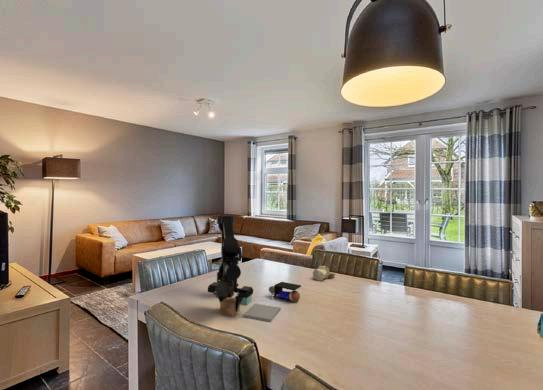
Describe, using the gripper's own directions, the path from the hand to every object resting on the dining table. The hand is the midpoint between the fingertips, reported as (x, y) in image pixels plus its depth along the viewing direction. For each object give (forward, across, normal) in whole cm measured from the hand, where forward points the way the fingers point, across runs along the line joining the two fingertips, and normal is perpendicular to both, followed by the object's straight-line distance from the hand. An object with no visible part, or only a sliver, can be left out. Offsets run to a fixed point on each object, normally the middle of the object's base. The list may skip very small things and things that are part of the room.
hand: (230, 309), depth 119 cm
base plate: (+1, +13, +4) cm, 14 cm away
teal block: (+1, +1, +12) cm, 12 cm away
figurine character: (+1, +17, +23) cm, 29 cm away
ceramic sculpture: (+1, +28, +61) cm, 67 cm away
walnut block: (+1, 0, 0) cm, 1 cm away
